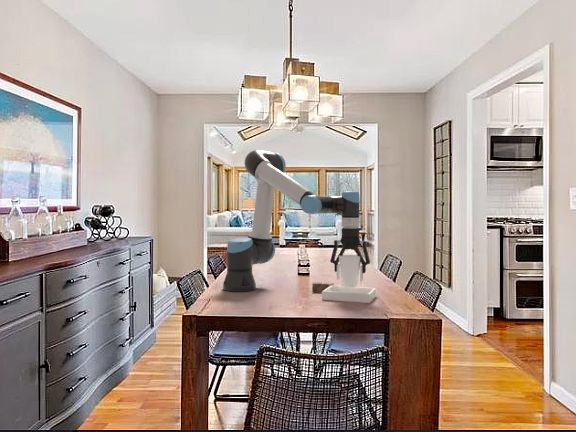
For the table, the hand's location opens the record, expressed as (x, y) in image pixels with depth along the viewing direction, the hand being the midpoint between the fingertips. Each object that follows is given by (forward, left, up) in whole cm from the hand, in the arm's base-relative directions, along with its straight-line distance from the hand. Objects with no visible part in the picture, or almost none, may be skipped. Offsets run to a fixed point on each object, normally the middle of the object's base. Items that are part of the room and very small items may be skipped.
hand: (349, 280), depth 221 cm
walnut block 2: (-12, +10, -8) cm, 17 cm away
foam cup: (0, 0, -3) cm, 3 cm away
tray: (0, 0, -8) cm, 8 cm away
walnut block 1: (-17, +10, -8) cm, 21 cm away
